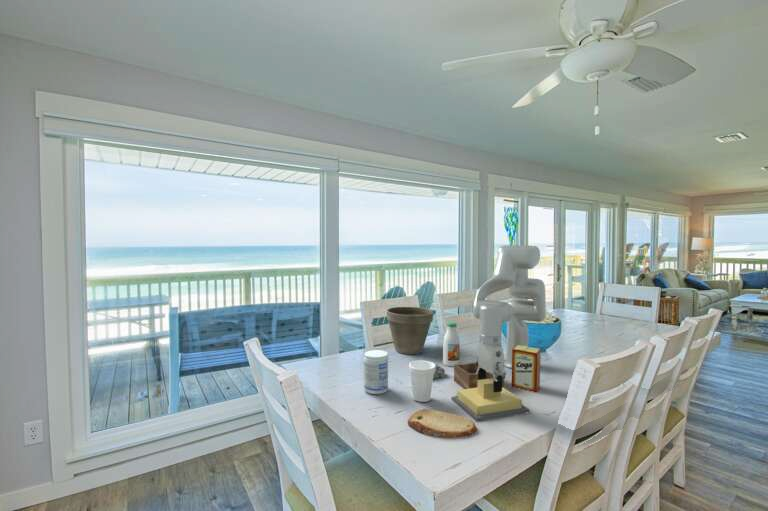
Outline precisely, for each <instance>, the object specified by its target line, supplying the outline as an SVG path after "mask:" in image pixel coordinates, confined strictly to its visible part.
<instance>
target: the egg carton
mask: <svg viewBox="0 0 768 511" xmlns="http://www.w3.org/2000/svg"><path fill="white" fill-rule="evenodd" d="M435 365H436V369H435V372H434V375H433V379H438V378H444V377H445V373H446V372H447V370H445V369H444V368H443V367H442V366H441V365H439V364H438V363H437V364H435Z"/></svg>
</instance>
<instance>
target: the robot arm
mask: <svg viewBox="0 0 768 511" xmlns="http://www.w3.org/2000/svg"><path fill="white" fill-rule="evenodd" d="M540 260H541V250H540V249H539V246H537V245H519V244H517V245H516V244H515V245H513V244H511V245H510V244H507V245H505V244H504V245H501V246H499V247H498V250H497V257H496V260H495V266H494V268H493V274H492V277H491V278H488V280H486V281H485V282H484V283H483V284H482V285H481V286H479V288H478V290H477V291H476V294H475V297H474V302H473V306H472V313H473V316H474V317H475V319H478V320H479V343H478V349H477V350H478V351H477V352H478V353H477V355H475V362H476V365H477V370H479V371H478V380H482V379H486V371H488V372H489V373H491V374H493V377H494V379H495V381H493V392H501V391H502V381H503V380H504V381H505V378H506V375H507V371H506V369H505V367H506V368H507V369H511V370H512V349H513V348H514V347H515V346H516V345H520V346H528V347H529V328H528V326H527V324H526V322H525V321H527V322H534V323H535V322H537V323H541V322H543V321H545V318H546V313H547V312H546V310H547V308H546V307H547V305H546V300H547V299H546V286H545V282H544V281H543V280H542V279H539V278H531V277H528V270H531V269H532V270H533V269H534V268H535V267H536V266H537V265H538V264H539V262H540ZM505 289H507V290H508V291H507V292H508V295H509V296H510V297H512V299H509V300H507V301H506V302H505V301H499V300H491V299H490V300H489V299H487V297H489V296H490V295H492V294H494V293H496V292H501V291H503V290H505ZM503 323H506V359H505V357H504V355H505V354H504V349H503V345H502V333H503V332H502V331H503V330H502V329H503V328H502V324H503ZM495 371H497V372H495ZM496 374H498V375H499V376H498V377H497V376H496Z"/></svg>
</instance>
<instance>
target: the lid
mask: <svg viewBox="0 0 768 511" xmlns="http://www.w3.org/2000/svg"><path fill="white" fill-rule="evenodd" d="M493 381H495V379H494V378H490V379H482V380H477V388H470V389H464V388H462V389H457V396H458V399H459V400H460V401H461V402H463V403H464V404H465V405H466V406H467V407H469V408H470V409H471V410H472V411H473V412H475V413H476V414H477V415H482V414H488V413H494V412H500V411H506V410H512V409H518V408H522V405H523V402H522V401H523V399H522V398H520V397H519V396H517V395H516V394H514V393H512V392H510V391H509V390H507V389H506V388H505V387H504V388H503V387H502V391H501V392H493Z"/></svg>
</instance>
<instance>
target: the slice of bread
mask: <svg viewBox="0 0 768 511" xmlns="http://www.w3.org/2000/svg"><path fill="white" fill-rule="evenodd" d="M407 425H408V427H410V428H412V429H414V430H415V431H416V432H418V433H420V434H423V435H425V436H426V435H427V436H431V437H435V438H448V439H457V438H458V439H459V438H466V436H467V437H471V436H473V435H475V434H476V433H477V431H478V428H477V426H476V424H475V422H474V421H473V420H472V419H470V418H468V417H464V416H460V415H458V414H454V413H450V412H444V411H439V410H432V409H427V408H424V409H419V410H417V411H415V412H414V413H413V414H411V415H410V417H409V418H408V419H407ZM475 432H476V433H475ZM472 434H473V435H472ZM470 435H471V436H470Z"/></svg>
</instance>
